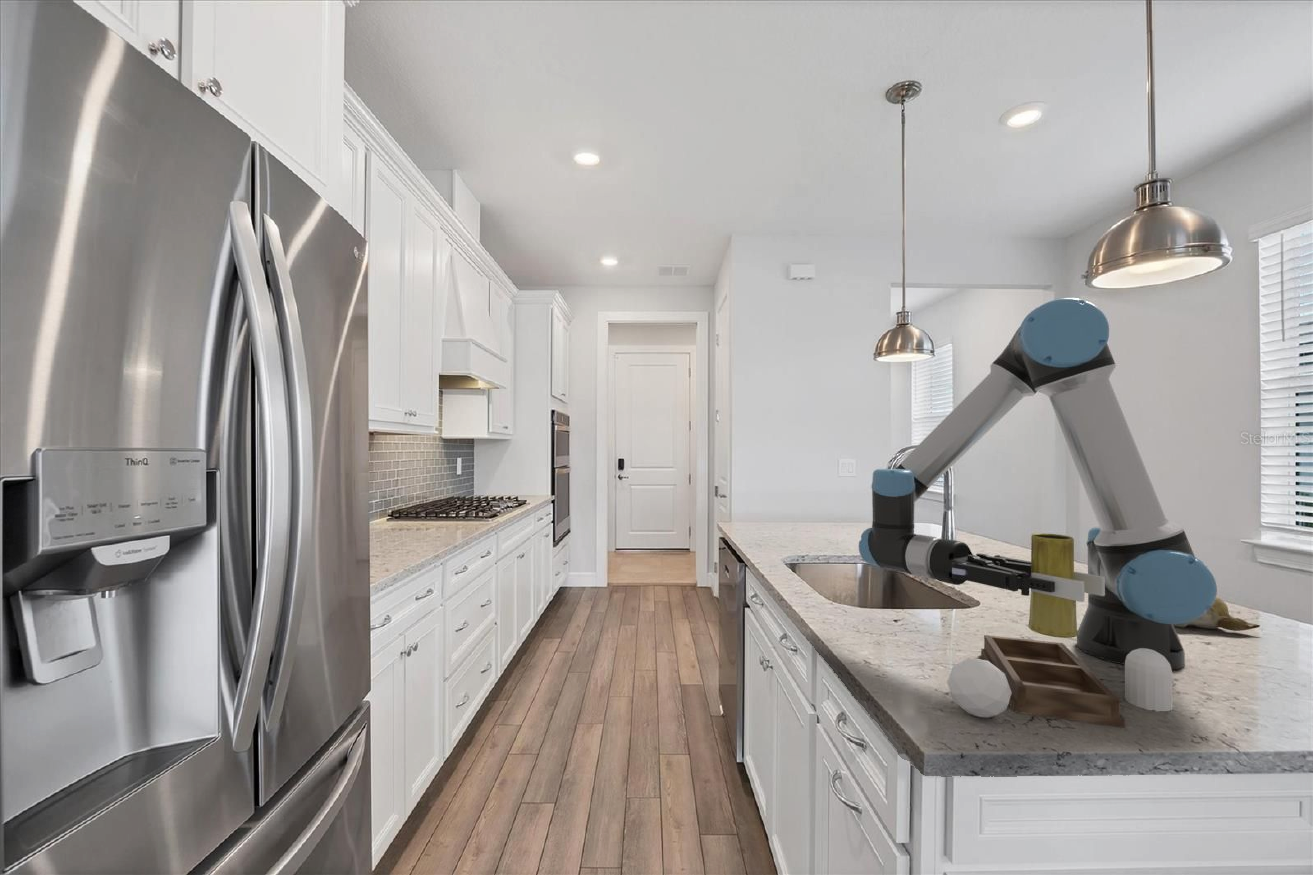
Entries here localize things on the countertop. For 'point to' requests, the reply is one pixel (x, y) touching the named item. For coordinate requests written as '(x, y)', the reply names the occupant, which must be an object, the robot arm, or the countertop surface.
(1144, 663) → the white dome-topped block
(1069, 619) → the vase
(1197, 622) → the ceramic sculpture
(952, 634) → the countertop surface
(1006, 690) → the ball
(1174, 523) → the robot arm
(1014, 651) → the tray
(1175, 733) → the countertop surface
